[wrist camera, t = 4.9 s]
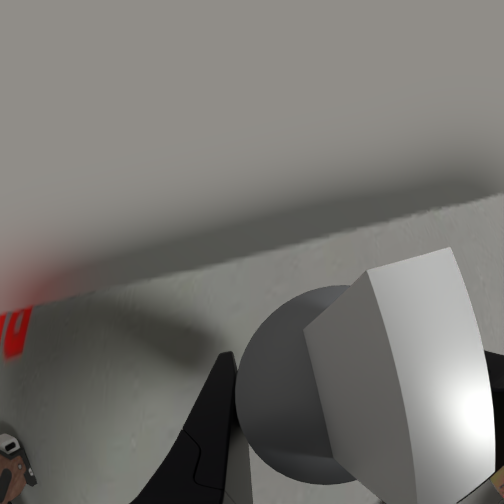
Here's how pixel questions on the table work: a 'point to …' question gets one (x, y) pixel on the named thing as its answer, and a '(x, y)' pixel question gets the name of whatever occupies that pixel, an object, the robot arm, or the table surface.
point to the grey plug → (374, 385)
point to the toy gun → (13, 469)
